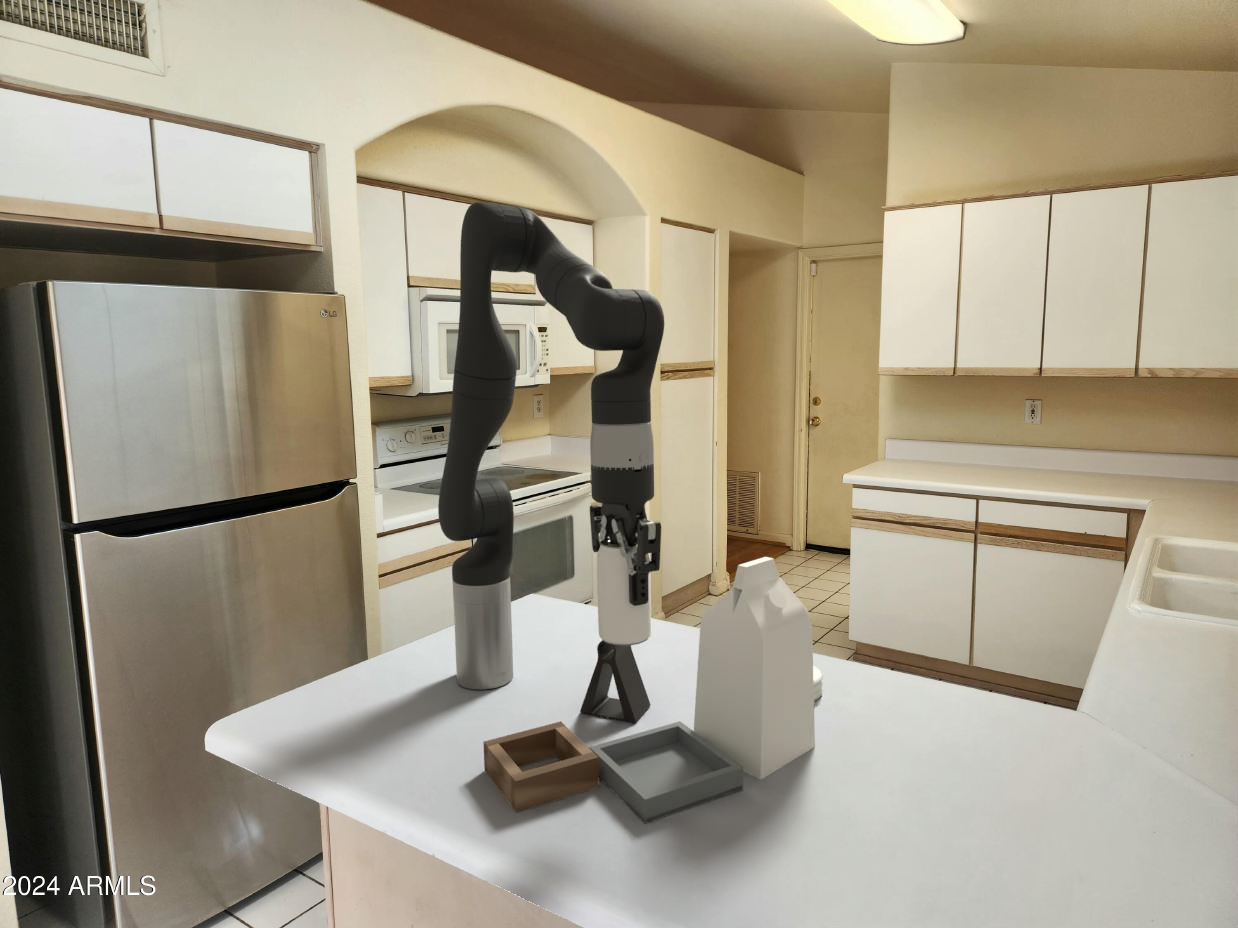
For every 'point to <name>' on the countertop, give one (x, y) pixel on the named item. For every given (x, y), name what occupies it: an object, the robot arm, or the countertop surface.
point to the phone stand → (627, 684)
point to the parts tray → (666, 771)
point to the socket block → (543, 782)
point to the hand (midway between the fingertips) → (625, 596)
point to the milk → (756, 672)
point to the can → (619, 600)
